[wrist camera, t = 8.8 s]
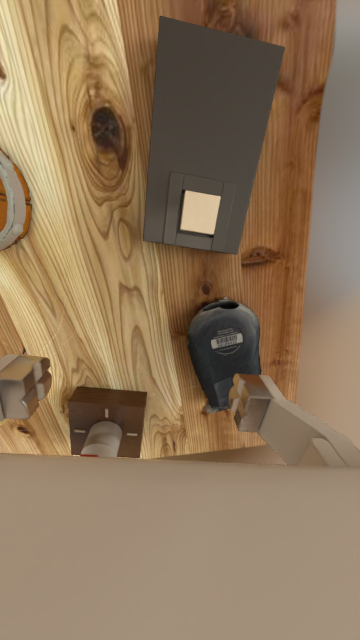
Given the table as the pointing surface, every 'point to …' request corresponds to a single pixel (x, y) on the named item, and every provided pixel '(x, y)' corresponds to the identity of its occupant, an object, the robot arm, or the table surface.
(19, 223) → the mug
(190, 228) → the beige square push button
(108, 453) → the volume knob
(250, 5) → the table surface
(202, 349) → the dark grey rounded piece
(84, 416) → the volume panel
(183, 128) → the push button base
